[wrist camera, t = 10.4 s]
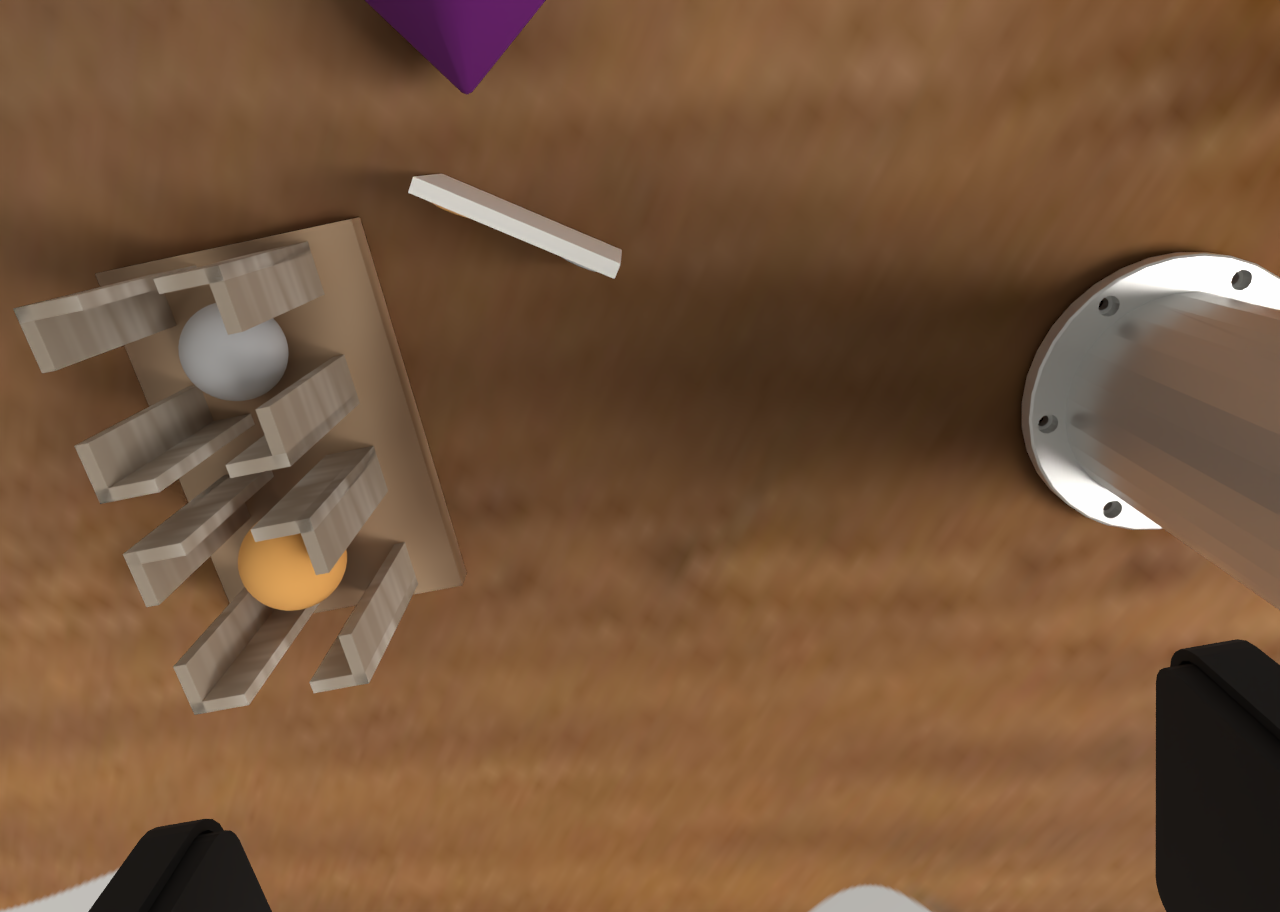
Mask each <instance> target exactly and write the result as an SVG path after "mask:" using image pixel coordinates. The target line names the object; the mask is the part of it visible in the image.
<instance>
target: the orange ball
mask: <svg viewBox="0 0 1280 912" xmlns="http://www.w3.org/2000/svg"><path fill="white" fill-rule="evenodd" d="M259 521H260V520H259ZM259 521H258V522H259ZM258 522H257V523H258ZM257 523H256V524H257ZM256 524H255V525H256ZM255 525H254V526H255ZM254 526H253V527H254ZM253 527H252V528H253ZM252 528H251V529H252ZM346 564H347V551H346V550H345V552H344V553H343V554H342V556H341V557H340V558H339V560H338V561H337V563H336V564H335V565H334V567H333V568H332V569H331V571H330V572H329V573H325V574H320V575H316V574H315V571H314V568H313V566H312V563H311V560H310V557H309V555H308V552H307V549H306V546H305V544H304V541H303V538H302V536H301V533H300V534H295V535H290V536H284V537H279V538H274V539H269V540H264V541H258V542H255V540H254V538H253V535H252V533H251V530H249V531H248V533H247V534H246V536H245V537H244V539H243V541H242V543H241V546H240V550H239V554H238V570H239V575H240V578H241V580H242V583H243V585H244V586H245V588H246V589H247V591H248V592H249V593H250V594H251V595H252V596H253V597H254V598H255V599H256V600H258V601H259V602H261V603H262V604H264V605H266V606H268V607H271V608H274V609H279V610H285V611H294V610H301V609H306V608H309V607H312V606H314V605H316V604H318V603H320V602H321V601H323V600H324V599H326V598H327V597H328V596H329V595H331V594H332V592H333V591H334V590H335V589H336V588H337V587H338V585H339V583H340V582H341V580H342V578H343V575H344V573H345V569H346Z"/></svg>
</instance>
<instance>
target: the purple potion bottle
mask: <svg viewBox="0 0 1280 912" xmlns="http://www.w3.org/2000/svg"><path fill="white" fill-rule="evenodd" d="M365 1H366V2H367V3H368V4H369V5H370V6H371V7H372V8H373V9H374V10H375V11H376V12H378V13H379V14H380V15H381V16H382V17H383V18H384V19H385V20H386V21H387V22H388V23H389V24H390V25H391V26H392V27H393V28H394V29H395V30H397V31H398V32H399V33H400V34H401V35H402V36H403V37H404V38H405V39H406V40H407V41H408V42H409V43H410V44H411V45H412V46H413V47H414V48H416V49H417V50H418V51H419V52H420V53H421V54H422V55H423V56H424V57H425V58H426V59H427V60H428V61H429V62H430V63H431V64H432V65H433V66H434V67H436V68H437V69H438V70H439V71H440V72H441V73H442V74H443V75H444V76H445V77H446V78H447V79H448V80H449V81H450V82H451V83H452V84H453V85H455V86H456V87H457V88H458V89H459V90H460V91H461V92H462V93H465V94H469V93H471V92H473V90H474V89H475V88H476V87H477V85H478V84H479V83H480V82H481V80H482V79H483V78H484V77H485V75H486V74H487V73H488V72H489V70H490V69H491V68H492V67H493V65H494V64H495V63H496V62H497V60H498V59H499V58H500V57H501V55H502V54H503V53H504V52H505V50H506V49H507V48H508V47H509V45H510V44H511V43H512V42H513V40H514V39H515V38H516V37H517V35H518V34H519V33H520V32H521V30H522V29H523V28H524V27H525V25H526V24H527V23H528V22H529V20H530V19H531V18H532V17H533V15H534V14H535V13H536V12H537V10H538V9H539V8H540V7H541V5H542V4H543V3H544V2H545V0H365Z"/></svg>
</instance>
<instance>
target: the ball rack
mask: <svg viewBox="0 0 1280 912" xmlns="http://www.w3.org/2000/svg"><path fill="white" fill-rule="evenodd" d="M95 275H96V278H97V280H98V283H99V285H100V287H99V288H95V289H91V290H87V291H83V292H78V293H74V294H70V295H66V296H62V297H58V298H54V299H50V300H46V301H42V302H38V303H34V304H30V305H26V306H22V307H18V308H14V309H13V310H14V312H15V314H16V316H17V319H18V321H19V323H20V325H21V327H22V330H23V332H24V334H25V336H26V339H27V341H28V343H29V345H30V348H31V350H32V352H33V354H34V357H35V359H36V361H37V363H38V365H39V368H40V370H41V372H42V373H47V372H51V371H56V370H59V369H62V368H64V367H67V366H70V365H72V364H75V363H78V362H80V361H83V360H86V359H88V358H91V357H94V356H96V355H99V354H102V353H104V352H107V351H110V350H112V349H115V348H118V347H120V346H123V345H124V346H125V349H126V351H127V354H128V356H129V359H130V361H131V363H132V366H133V368H134V371H135V373H136V376H137V378H138V381H139V383H140V385H141V388H142V390H143V393H144V395H145V398H146V400H147V402H148V405H149V407H148V408H146V409H144V410H142V411H140V412H138V413H136V414H134V415H133V416H131V417H129V418H127V419H125V420H123V421H121V422H119V423H117V424H115V425H113V426H111V427H110V428H108V429H106V430H104V431H102V432H100V433H98V434H96V435H94V436H92V437H90V438H88V439H87V440H85V441H83V442H81V443H79V444H77V445H75V448H76V451H77V453H78V455H79V457H80V459H81V462H82V464H83V466H84V468H85V471H86V473H87V475H88V477H89V480H90V482H91V484H92V486H93V489H94V491H95V493H96V495H97V497H98V500H99V502H100V504H102V503H107V502H112V501H117V500H122V499H128V498H133V497H138V496H143V495H148V494H153V493H158V492H161V491H162V490H163V489H165V488H166V487H168V486H169V485H170V484H172V483H173V482H175V481H176V480H177V479H179V481H180V483H181V486H182V488H183V490H184V493H185V495H186V498H187V500H188V504H186V505H185V506H184V507H182V508H181V509H180V510H179V511H177V512H176V513H175V514H173V515H172V516H171V517H170V518H168V519H167V520H166V521H165V522H163V523H162V524H161V525H159V526H158V527H157V528H156V529H154V530H153V531H152V532H151V533H149V534H148V535H147V536H145V537H144V538H143V539H142V540H140V541H139V542H138V543H137V544H135V545H134V546H133V547H131V548H130V549H129V550H128V551H126V552H125V553H124V554H123V556H124V558H125V560H126V562H127V565H128V567H129V569H130V571H131V574H132V576H133V578H134V580H135V583H136V585H137V587H138V589H139V591H140V594H141V596H142V598H143V600H144V603H145V605H146V607H150V606H156V605H160V604H161V603H162V602H163V601H164V600H165V599H166V598H167V597H168V596H169V595H170V594H171V593H172V592H173V591H174V590H175V589H177V588H178V587H179V586H180V585H181V584H182V583H183V582H184V581H185V580H186V579H187V578H188V577H189V576H190V575H191V574H192V573H193V572H194V571H195V570H196V569H198V568H199V567H200V566H201V565H202V564H203V563H204V562H205V561H206V560H207V559H208V558H209V557H210V556H211V559H212V561H213V564H214V566H215V569H216V571H217V574H218V576H219V578H220V581H221V583H222V586H223V588H224V591H225V593H226V596H227V598H228V600H229V603H230V604H229V605H228V606H227V607H226V608H225V609H224V611H223V612H222V613H221V614H220V615H219V616H218V617H217V618H216V620H215V621H214V622H213V623H212V624H211V625H210V626H209V627H208V628H207V630H206V631H205V632H204V633H203V634H202V635H201V636H200V637H199V638H198V640H197V641H196V642H195V643H194V644H193V645H192V646H191V647H190V649H189V650H188V651H187V652H186V653H185V654H184V655H183V656H182V657H181V659H180V660H179V661H178V662H177V663H176V664H175V665H174V666H173V668H174V670H175V672H176V674H177V676H178V679H179V681H180V683H181V685H182V688H183V690H184V692H185V694H186V697H187V699H188V701H189V703H190V706H191V708H192V710H193V712H194V715H196V714H202V713H207V712H213V711H218V710H224V709H229V708H235V707H240V706H246V705H249V704H250V703H251V701H252V700H253V698H254V697H255V696H256V694H257V693H258V691H259V690H260V688H261V687H262V685H263V684H264V683H265V681H266V680H267V678H268V677H269V675H270V674H271V673H272V671H273V670H274V668H275V667H276V665H277V664H278V662H279V661H280V660H281V658H282V657H283V655H284V654H285V652H286V651H287V649H288V648H289V647H290V645H291V644H292V642H293V641H294V639H295V638H296V637H297V635H298V634H299V632H300V631H301V629H302V628H303V626H304V625H305V624H306V622H307V621H308V619H309V618H310V616H311V615H312V614H313V613H318V612H323V611H328V610H334V609H339V608H344V607H350V606H355V605H356V607H355V609H354V610H353V612H352V613H351V615H350V617H349V618H348V620H347V622H346V623H345V625H344V627H343V628H342V630H341V631H340V633H339V635H338V636H337V638H336V640H335V641H334V643H333V645H332V646H331V648H330V650H329V651H328V653H327V654H326V656H325V658H324V659H323V661H322V663H321V664H320V666H319V668H318V669H317V671H316V672H315V674H314V676H313V677H312V679H311V681H310V685H311V687H312V690H313V693H318V692H323V691H329V690H334V689H340V688H345V687H351V686H356V685H362V684H367V683H369V682H370V680H371V678H372V676H373V674H374V672H375V670H376V668H377V666H378V664H379V662H380V660H381V658H382V656H383V654H384V652H385V650H386V648H387V646H388V644H389V642H390V640H391V638H392V636H393V634H394V632H395V630H396V628H397V626H398V624H399V622H400V620H401V618H402V616H403V614H404V612H405V610H406V608H407V606H408V604H409V602H410V600H411V598H412V595H414V594H419V593H425V592H430V591H435V590H441V589H446V588H451V587H457V586H462V585H463V582H464V580H465V577H466V575H467V572H466V569H465V566H464V562H463V559H462V556H461V552H460V549H459V546H458V542H457V539H456V536H455V532H454V529H453V526H452V522H451V519H450V516H449V512H448V509H447V506H446V502H445V499H444V496H443V492H442V489H441V486H440V482H439V479H438V476H437V472H436V469H435V466H434V462H433V459H432V456H431V452H430V449H429V446H428V442H427V439H426V436H425V432H424V429H423V426H422V422H421V419H420V416H419V412H418V409H417V406H416V402H415V399H414V396H413V392H412V389H411V386H410V382H409V379H408V376H407V372H406V369H405V366H404V362H403V359H402V356H401V352H400V349H399V346H398V342H397V339H396V336H395V332H394V329H393V326H392V323H391V319H390V316H389V313H388V309H387V306H386V303H385V299H384V296H383V293H382V289H381V286H380V283H379V279H378V276H377V273H376V269H375V266H374V263H373V259H372V256H371V253H370V249H369V246H368V243H367V239H366V236H365V233H364V229H363V226H362V223H361V219H360V217H358V218H353V219H348V220H344V221H339V222H334V223H330V224H325V225H320V226H315V227H311V228H306V229H301V230H297V231H292V232H287V233H283V234H278V235H273V236H269V237H264V238H259V239H254V240H250V241H245V242H240V243H236V244H231V245H226V246H222V247H217V248H212V249H207V250H203V251H198V252H193V253H189V254H184V255H179V256H175V257H170V258H165V259H161V260H156V261H151V262H146V263H142V264H137V265H132V266H128V267H123V268H118V269H114V270H109V271H104V272H100V273H95ZM214 303H216V304H217V306H218V309H219V312H220V315H221V317H222V320H223V323H224V325H225V328H226V331H227V334H228V335H230V334H235V333H240V332H244V331H246V330H248V329H250V328H252V327H255V326H257V325H259V324H261V323H263V322H266V321H268V320H270V319H272V318H273V319H274V320H275V321H276V322H277V323H278V324H279V326H280V327H281V329H282V331H283V333H284V335H285V337H286V340H287V344H288V355H289V356H288V363H287V367H286V370H285V372H284V374H283V376H282V378H281V379H280V381H279V382H278V383H277V384H276V385H275V386H274V387H273V388H272V389H271V390H270V391H268V392H267V393H265V394H263V395H261V396H259V397H257V398H254V399H250V400H245V401H228V400H222V399H218V398H216V397H213V396H211V395H209V394H207V393H205V392H203V391H202V390H200V389H199V388H198V387H197V386H195V385H194V384H193V383H192V382H191V380H190V379H189V378H188V377H187V375H186V373H185V372H184V370H183V368H182V365H181V362H180V358H179V349H178V346H179V339H180V335H181V332H182V330H183V328H184V326H185V324H186V323H187V321H188V320H189V319H190V318H191V317H192V316H193V315H194V314H195V313H196V312H197V311H199V310H201V309H202V308H204V307H206V306H208V305H210V304H214ZM259 520H260V521H259ZM258 521H259V522H258ZM257 522H258V523H257ZM256 523H257V524H256ZM255 524H256V525H255ZM254 525H255V526H254ZM253 526H254V527H253ZM252 527H253V528H252ZM251 528H252V529H251ZM249 530H251V533H252V535H253V538H254V540H255V542H258V541H264V540H269V539H274V538H279V537H284V536H290V535H295V534H300V533H301V536H302V538H303V541H304V544H305V546H306V549H307V552H308V555H309V557H310V560H311V563H312V566H313V568H314V571H315V574H316V575H320V574H325V573H329V572H330V571H331V569H332V568H333V567H334V565H335V564H336V563H337V561H338V560H339V558H340V557H341V556H342V554H343V553H344V552H345V550H346V551H347V564H346V569H345V573H344V575H343V578H342V580H341V582H340V583H339V585H338V587H337V588H336V589H335V590H334V591H333V592H332V594H331V595H329V596H328V597H327V598H326V599H324V600H323V601H321V602H320V603H318V604H316V605H314V606H312V607H309V608H306V609H301V610H294V611H285V610H279V609H274V608H271V607H268V606H266V605H264V604H262V603H261V602H259V601H258V600H256V599H255V598H254V597H253V596H252V595H251V594H250V593H249V592H248V591H247V589H246V588H245V586H244V585H243V583H242V580H241V578H240V575H239V570H238V554H239V550H240V546H241V543H242V541H243V539H244V537H245V536H246V534H247V533H248V531H249Z"/></svg>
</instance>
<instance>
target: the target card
mask: <svg viewBox="0 0 1280 912" xmlns="http://www.w3.org/2000/svg"><path fill="white" fill-rule="evenodd" d="M408 193H410V194H413V195H415V196H417V197H420V198H422V199H425V200H427V201H429V202H431V203H432V204H434V205H436V206H437V207H439V208H441V209H444V210H446V211H448V212H451V213H453V214H456V215H459V216H462V217H466V218H470V219H472V220H475V221H477V222H479V223H482V224H484V225H487V226H489V227H491V228H494V229H496V230H499V231H501V232H503V233H506V234H508V235H511V236H513V237H515V238H518V239H520V240H522V241H525V242H527V243H530V244H532V245H534V246H537V247H539V248H542V249H544V250H546V251H549V252H551V253H554V254H556V255H558V256H561V257H562V258H564V259H565V260H567V261H569V262H571V263H573V264H575V265H577V266H580V267H582V268H585V269H588V270H591V271H594V272H599V273H601V274H604V275H606V276H608V277H611V278H613V279H615V277H616V274H617V272H618V269H619V267H620V264H621V255H622V250H621V249H619V248H616V247H614V246H612V245H609V244H607V243H605V242H602V241H600V240H598V239H595V238H593V237H591V236H588V235H586V234H583V233H581V232H579V231H576V230H574V229H572V228H569V227H567V226H565V225H562V224H560V223H558V222H555V221H553V220H550V219H548V218H546V217H543V216H541V215H539V214H536V213H534V212H532V211H529V210H527V209H525V208H522V207H520V206H517V205H515V204H513V203H510V202H508V201H506V200H503V199H501V198H499V197H496V196H494V195H492V194H489V193H487V192H484V191H482V190H480V189H477V188H475V187H473V186H470V185H468V184H466V183H463V182H461V181H459V180H456V179H454V178H452V177H449V176H447V175H444V174H433V175H423V176H413V179H412V182H411V185H410V188H409V192H408Z"/></svg>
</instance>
